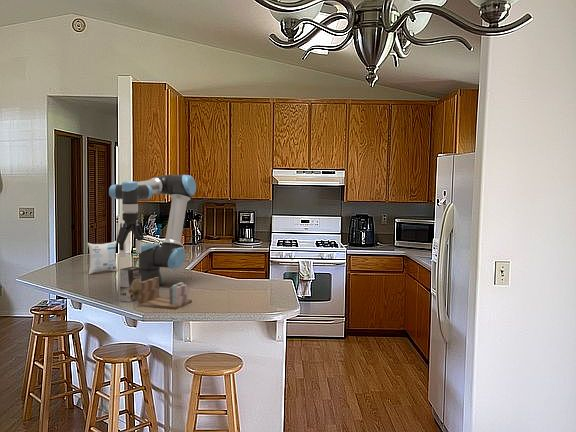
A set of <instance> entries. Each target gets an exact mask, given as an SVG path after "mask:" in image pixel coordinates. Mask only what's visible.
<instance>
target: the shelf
mask: <svg viewBox="0 0 576 432" xmlns="http://www.w3.org/2000/svg"><path fill="white" fill-rule="evenodd" d="M168 288H169V289H168V291H169V297H167V296H166V297H165V296H160V286H159V277H155V278H152V279H149V280H146V281H143V282H140V283H138V307H146V308H155V309H165V310H178V309H180V308H182V307H184V306H186V305H188V304H191V303H193V300H192V299H188V296H187V295H188V291H187V289H188V285H187V284H185V283H184V282H178V283H175V284H172V286H169V287H168Z"/></svg>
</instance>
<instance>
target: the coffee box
mask: <svg viewBox="0 0 576 432" xmlns="http://www.w3.org/2000/svg"><path fill="white" fill-rule="evenodd" d="M140 282H141V267H139V266H129V267H124V268H120V269H119V301H120V302H125V303H130V302H134V301H135V302H136V301H137V300H138V283H140Z"/></svg>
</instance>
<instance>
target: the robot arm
mask: <svg viewBox="0 0 576 432" xmlns="http://www.w3.org/2000/svg"><path fill="white" fill-rule="evenodd" d="M196 192H197V184H196V180H195V179H194V177H193V176H192V175H189V174H165V175H161V176H155V177H152V178H150V179H148V180H147V179H146V180H141V181H129V180H126V181H122V183H121V184H111V185H110V186H109V188H108V195H109V197H110V198H112V199H114V200H122V202H121V203H122V204H121V205H122V211H121V212H123V213H122V214H121V215H122V217H121V218H122V221H124V222H120V224H119V230H118V234H117V238H116V240H115V241H116V244H119V257H121V258H126V256H127V255H126V254H127V253H126V251H127V250H126V243H125V242H126V240H127V238H128V235H129V233H131V232H132V234H133V236H134V238H135V254H138V267H141V282H143V281H146V280H149V279H152V278H155V277H159V287H160V286H162V285H164V279H163V276H162V274H161V268H166V269H167V268H170V269H179V268H180V267H182V266H183V265H184V262H185V260H186V250H185V248H183V246H184V245H183V244H182V235H183V230H184V229H183V228H184V223H185V217H186V211H187V207H188V206H187V205H188V202H189V201H191V197H192V196H194V195H196ZM153 195H167V196H169V197H170V198H171V203H170V204H171V205H170V209H169V217H168V222H167V228H166V234H165V239H164V241H163V240H162V242H161V245H160V243H157V242H156V243H149V244H143V245H142V241H143V240H144V239H145V235H144V233H143V229H142V226H141V221H140V220H139V201H142V200H143V201H146V200H150V199H151V198H152V197H153ZM138 220H139V221H138Z"/></svg>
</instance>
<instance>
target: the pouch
mask: <svg viewBox="0 0 576 432" xmlns="http://www.w3.org/2000/svg"><path fill="white" fill-rule="evenodd" d="M116 241H117V240H115V241H112V242H105V243H90V242H86V243H87V246H88V250H89V251H88V252H89V270H88V274H89V275H92V274H94V273H98V272H103V271H113V272H114V271H115V272H118V267H117V260H116V249H117V248H116V247H117V242H116Z"/></svg>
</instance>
